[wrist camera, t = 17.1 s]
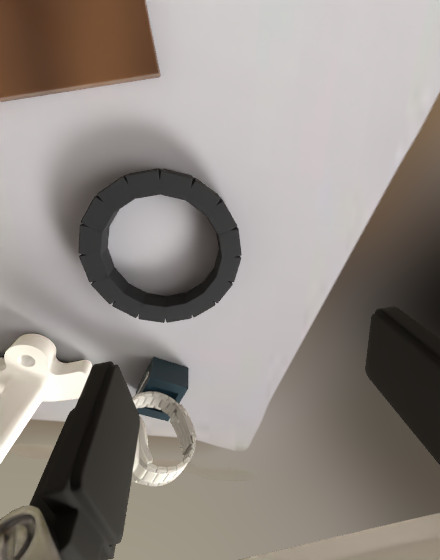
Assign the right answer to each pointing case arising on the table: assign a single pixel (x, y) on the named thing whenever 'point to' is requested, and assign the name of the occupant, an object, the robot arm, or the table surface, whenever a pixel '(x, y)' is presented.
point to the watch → (162, 405)
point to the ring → (112, 281)
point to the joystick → (34, 383)
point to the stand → (73, 45)
